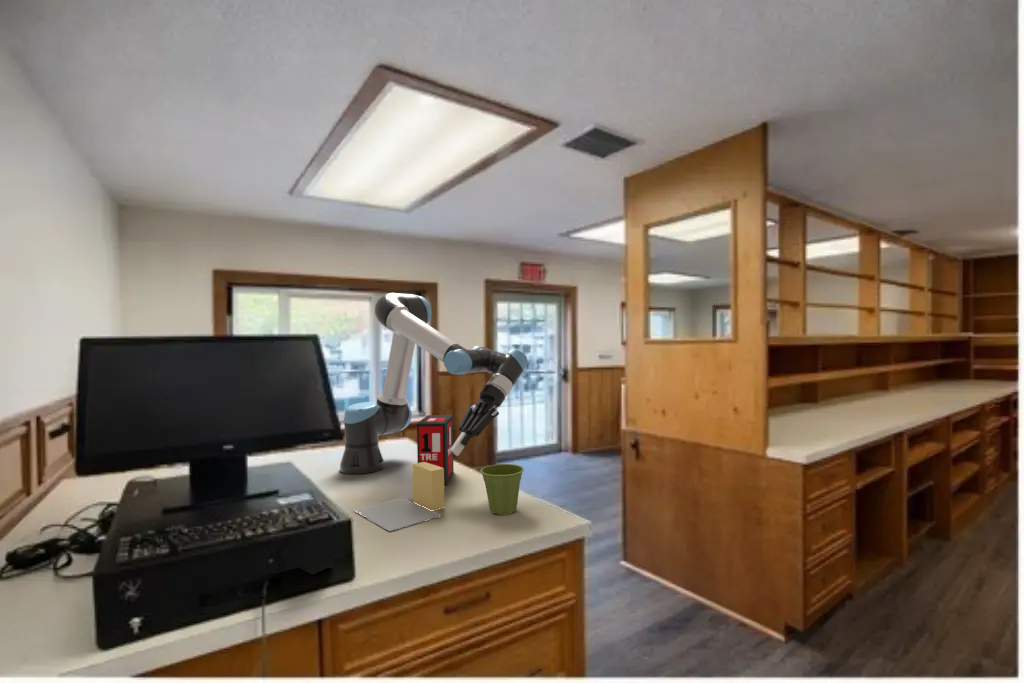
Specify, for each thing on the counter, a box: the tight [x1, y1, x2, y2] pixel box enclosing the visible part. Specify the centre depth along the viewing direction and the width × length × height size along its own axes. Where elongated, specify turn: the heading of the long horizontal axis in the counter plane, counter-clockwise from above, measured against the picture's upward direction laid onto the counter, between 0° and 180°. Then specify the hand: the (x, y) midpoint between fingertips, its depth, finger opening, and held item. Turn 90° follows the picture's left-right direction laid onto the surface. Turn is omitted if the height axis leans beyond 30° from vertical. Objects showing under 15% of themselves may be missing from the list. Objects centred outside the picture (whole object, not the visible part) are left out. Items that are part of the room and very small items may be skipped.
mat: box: [356, 497, 442, 533], centre depth 132 cm, size 20×15×1 cm
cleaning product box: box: [416, 414, 454, 487], centre depth 164 cm, size 16×9×20 cm, turn 179°
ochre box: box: [411, 462, 446, 511], centre depth 139 cm, size 10×4×11 cm, turn 42°
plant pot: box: [479, 463, 525, 516], centre depth 133 cm, size 12×12×11 cm
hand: (454, 452), depth 144 cm, fingers closed
